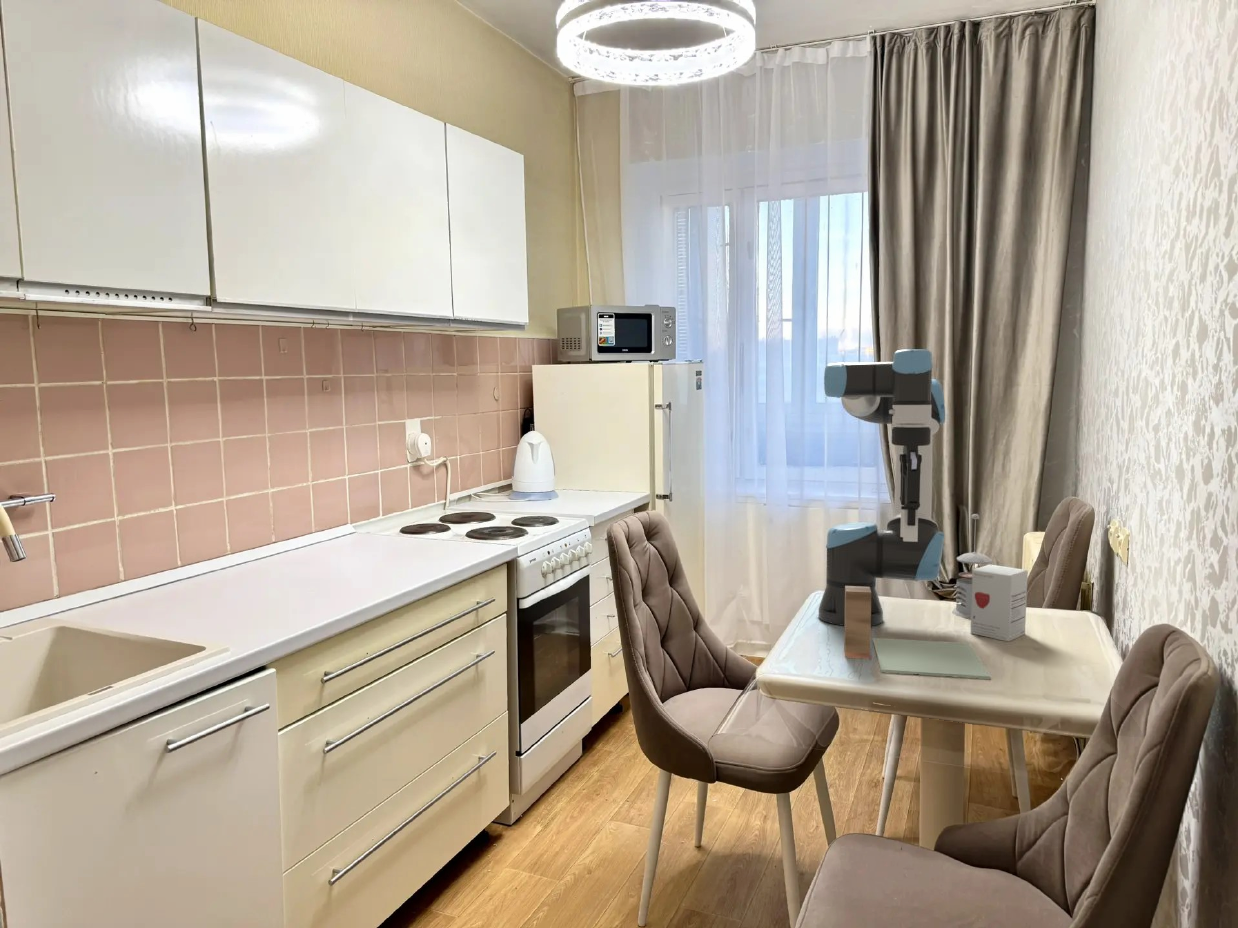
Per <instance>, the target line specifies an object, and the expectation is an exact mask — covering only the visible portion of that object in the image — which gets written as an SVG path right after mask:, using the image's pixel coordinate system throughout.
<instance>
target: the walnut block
mask: <svg viewBox="0 0 1238 928" xmlns="http://www.w3.org/2000/svg"><path fill="white" fill-rule="evenodd" d="M843 626H844V635H843V636H844V637H843V640H844V641H843V652H844V658H847V659H848V658H849V659H863V660H864V659H865V660H867V659H868V660H870V659H871V639H872V638H871V637H872V636H871V634H872V633H871V631H872V630H871V627H872V626H871V590H870V587H861V586H845V625H843Z"/></svg>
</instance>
